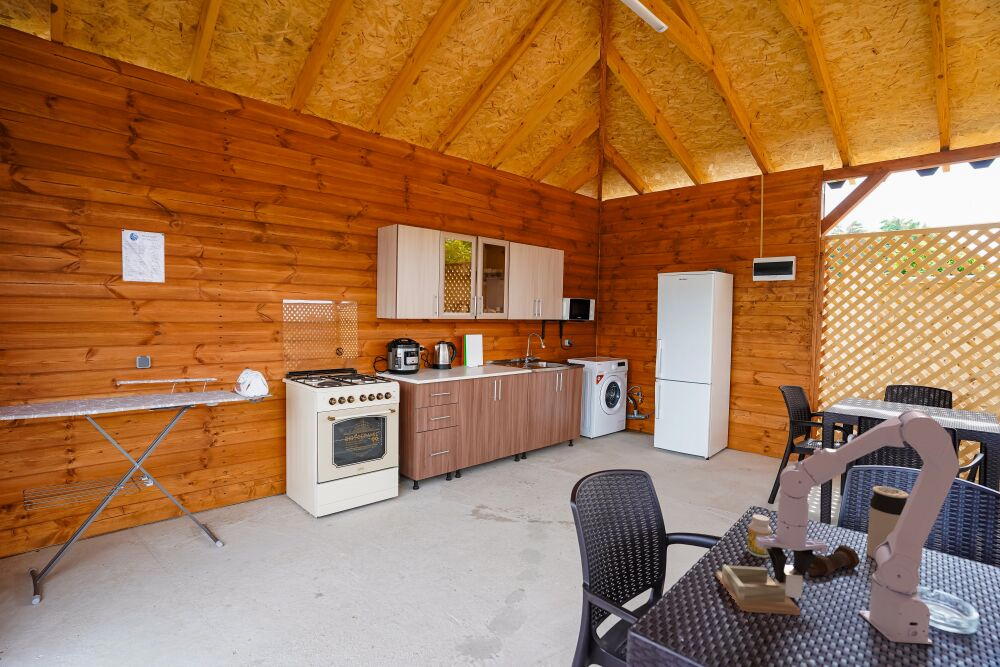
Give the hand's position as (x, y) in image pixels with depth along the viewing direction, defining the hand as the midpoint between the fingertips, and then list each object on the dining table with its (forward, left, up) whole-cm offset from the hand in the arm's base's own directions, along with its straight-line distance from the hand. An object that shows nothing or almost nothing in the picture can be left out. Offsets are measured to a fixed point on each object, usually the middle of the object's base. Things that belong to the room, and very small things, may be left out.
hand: (788, 580), depth 111 cm
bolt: (+13, -17, -4) cm, 21 cm away
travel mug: (+21, -36, -4) cm, 42 cm away
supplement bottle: (+20, -3, -4) cm, 21 cm away
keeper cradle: (0, +7, -3) cm, 8 cm away
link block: (0, 0, -2) cm, 2 cm away
